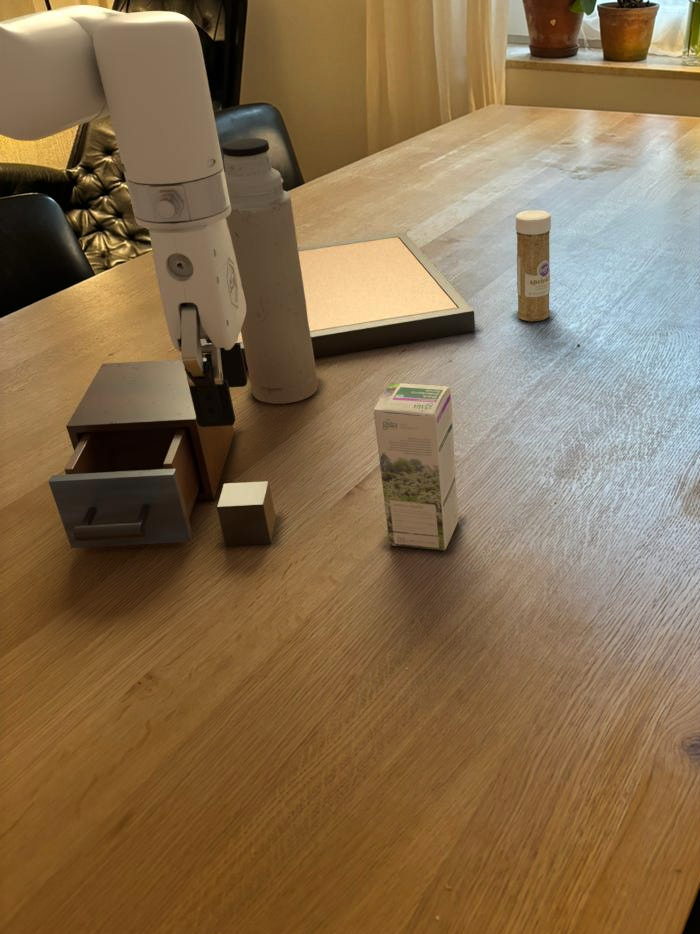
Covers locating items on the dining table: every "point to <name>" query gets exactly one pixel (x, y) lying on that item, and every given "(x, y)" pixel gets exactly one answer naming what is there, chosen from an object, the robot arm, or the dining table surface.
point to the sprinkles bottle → (533, 264)
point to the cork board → (375, 296)
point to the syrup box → (417, 464)
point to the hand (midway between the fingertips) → (223, 403)
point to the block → (246, 513)
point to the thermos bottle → (268, 276)
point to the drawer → (129, 488)
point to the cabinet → (151, 411)
